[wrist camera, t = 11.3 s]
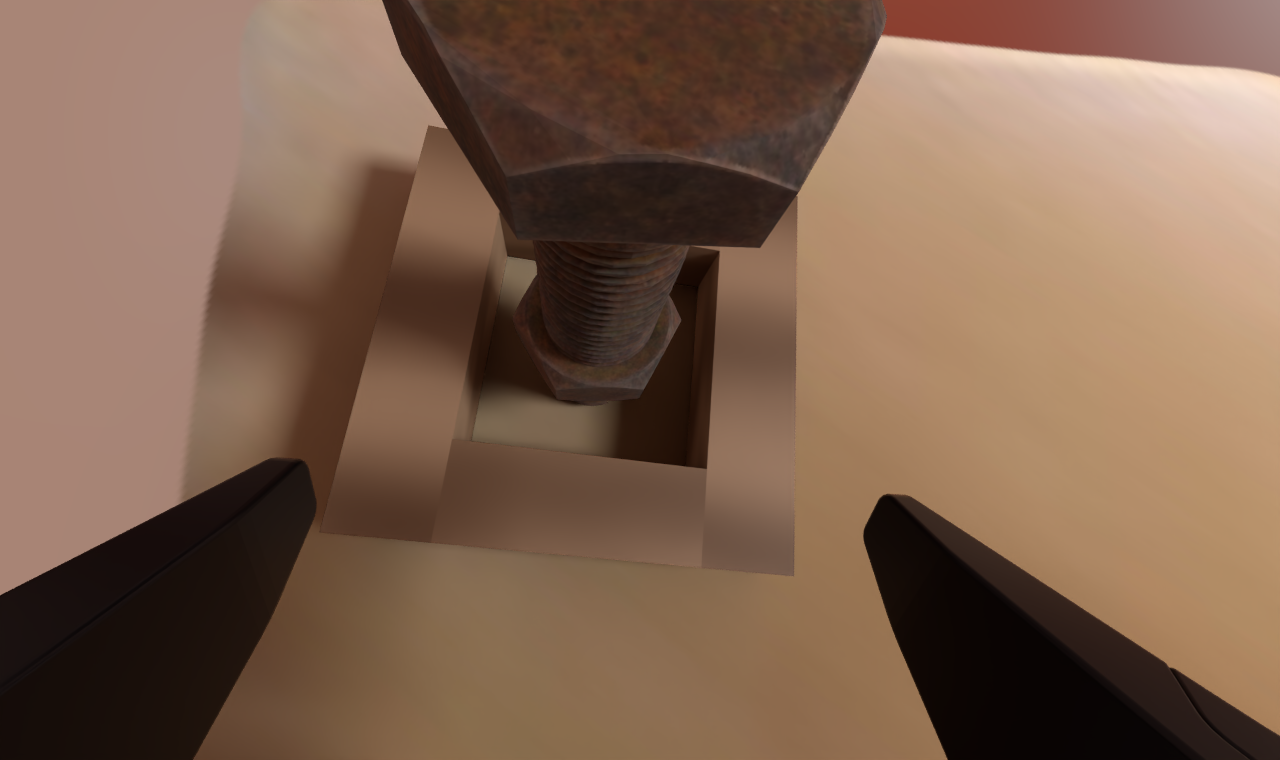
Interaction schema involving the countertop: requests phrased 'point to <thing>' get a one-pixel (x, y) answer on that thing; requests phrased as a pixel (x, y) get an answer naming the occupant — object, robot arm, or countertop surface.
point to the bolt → (632, 146)
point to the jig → (550, 480)
